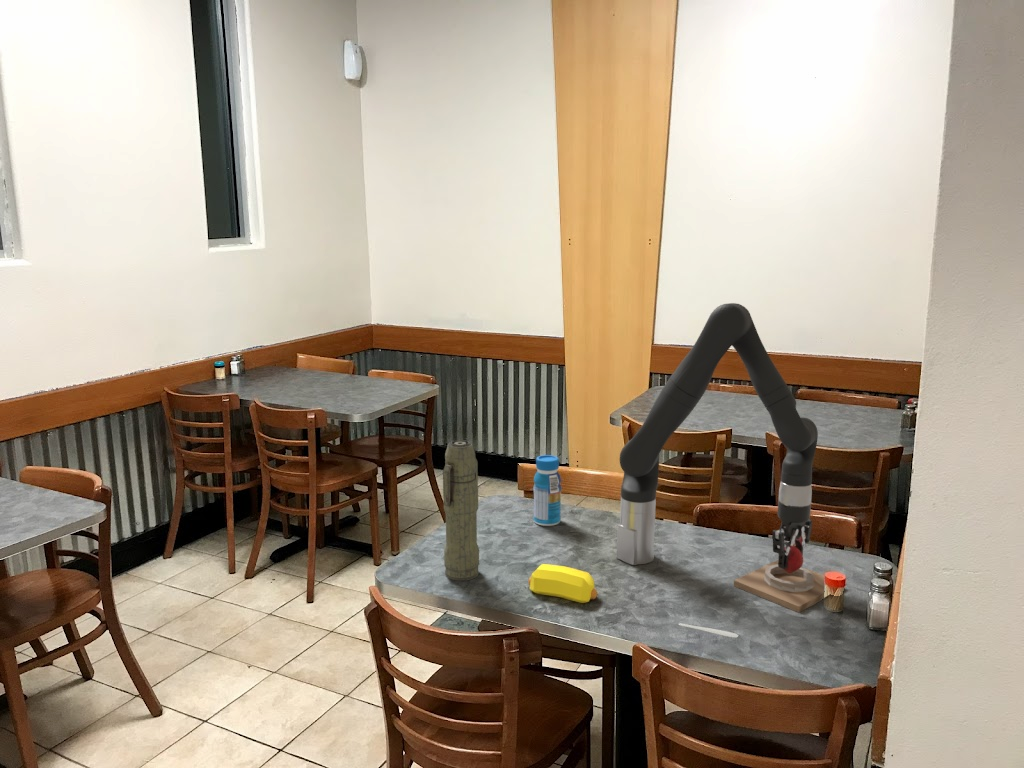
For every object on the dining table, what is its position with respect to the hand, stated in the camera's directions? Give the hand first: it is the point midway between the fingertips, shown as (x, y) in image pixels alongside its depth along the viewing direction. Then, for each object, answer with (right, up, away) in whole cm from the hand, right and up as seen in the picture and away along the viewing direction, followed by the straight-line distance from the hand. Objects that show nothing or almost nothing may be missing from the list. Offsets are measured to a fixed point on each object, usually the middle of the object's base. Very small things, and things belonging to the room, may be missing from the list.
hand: (790, 564), depth 202 cm
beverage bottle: (-58, +3, +44) cm, 73 cm away
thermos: (-82, -5, +9) cm, 82 cm away
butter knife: (-31, -10, -17) cm, 37 cm away
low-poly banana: (-57, -7, -2) cm, 57 cm away
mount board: (0, -6, +1) cm, 6 cm away
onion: (0, -3, +1) cm, 3 cm away
